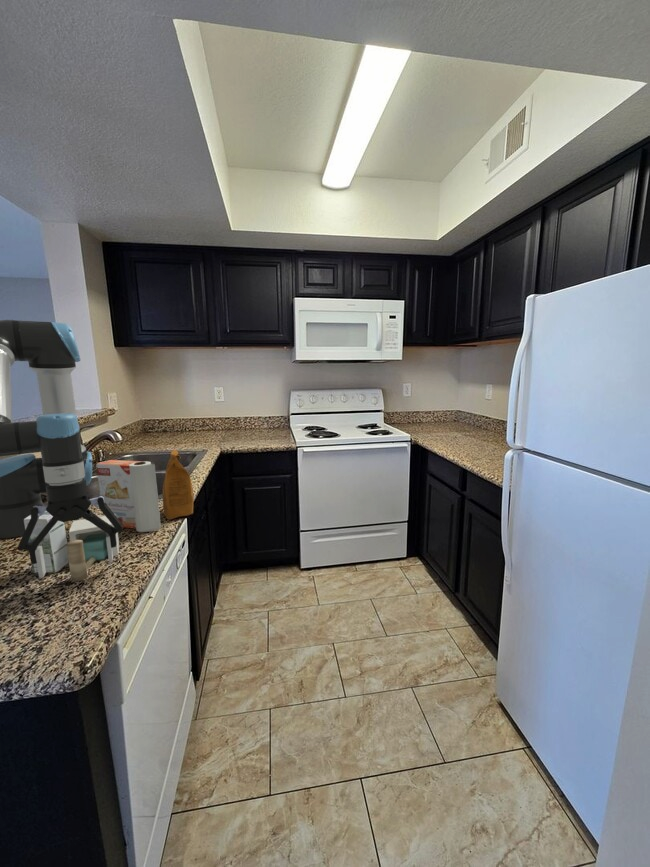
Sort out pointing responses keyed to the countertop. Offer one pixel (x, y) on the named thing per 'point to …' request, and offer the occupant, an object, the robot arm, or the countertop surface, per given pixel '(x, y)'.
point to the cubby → (90, 531)
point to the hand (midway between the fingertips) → (78, 567)
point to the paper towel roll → (145, 496)
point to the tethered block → (85, 555)
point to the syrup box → (50, 543)
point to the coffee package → (177, 489)
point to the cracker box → (117, 489)
